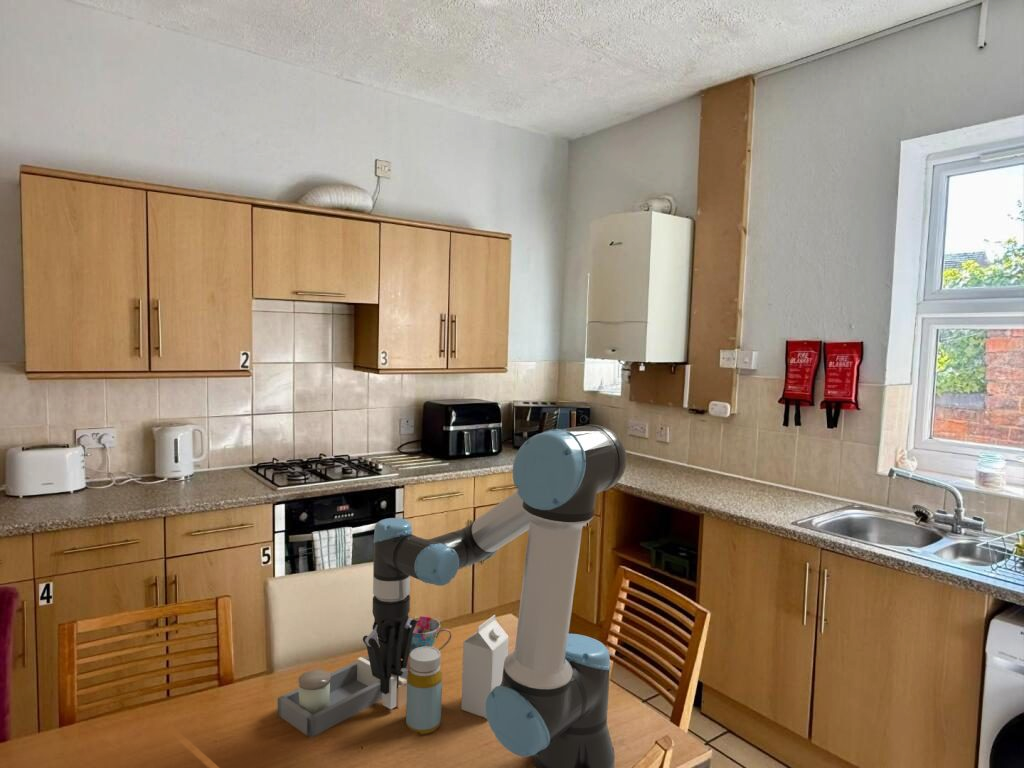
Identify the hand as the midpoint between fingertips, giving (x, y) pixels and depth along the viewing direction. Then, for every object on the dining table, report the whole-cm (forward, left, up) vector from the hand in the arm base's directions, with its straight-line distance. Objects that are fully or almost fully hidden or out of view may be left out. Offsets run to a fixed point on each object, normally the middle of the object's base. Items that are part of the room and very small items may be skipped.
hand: (389, 705), depth 133 cm
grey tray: (+10, +3, -2) cm, 11 cm away
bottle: (-8, -2, -2) cm, 9 cm away
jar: (+10, +11, -1) cm, 15 cm away
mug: (+8, -18, -2) cm, 20 cm away
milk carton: (-13, -15, -2) cm, 20 cm away
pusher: (+7, -3, -1) cm, 8 cm away
